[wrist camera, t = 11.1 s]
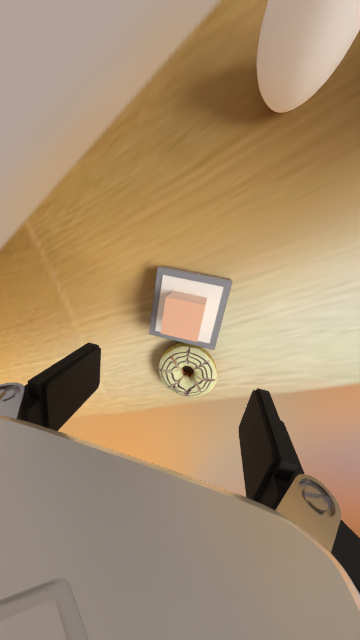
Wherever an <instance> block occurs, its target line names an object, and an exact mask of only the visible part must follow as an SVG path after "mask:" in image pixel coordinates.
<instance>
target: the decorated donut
mask: <svg viewBox="0 0 360 640" xmlns="http://www.w3.org/2000/svg"><path fill="white" fill-rule="evenodd" d="M184 366H190V367H191V368H192V369H193V370H194V372H193V373H187V372H185V371H184V370H183V369H182V368H183V367H184ZM158 368H159V375H160V377H161V381H162V383H163V384H164V385H166V386H167V388H168V389H170V390H172V391H174V392H176V393H178V394H180V395H183V396H188V397H197V396H201V395H204V394H206V393H208V392H209V391H211V390H212V388H213V387H214V385H215V383H216V381H217V370H216V366H215V363H214V361H213V359H212V357H211V356H210V355H209V354H208V352H207V351H205V350H204V349H203V348H201V347H200V346H196V345H192V344H188V343H179V344H176V345H174V346H172V347H171V348H169V349H168V350H167V351H166V352H165V353H164V354H163V356H162V357H161V360H160V362H159V367H158Z"/></svg>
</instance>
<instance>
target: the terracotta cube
mask: <svg viewBox="0 0 360 640" xmlns="http://www.w3.org/2000/svg"><path fill="white" fill-rule="evenodd" d="M206 302H207V298H206V297H201V296H197V295H192V294H187V293H182V292H177V291H174V292H172V293H171V294H169V295H168V296H166V299H165V306H164V313H163V319H162V326H161V334H165V335H169V336H174V337H178V338H182V339H186V340H190V341H194V342H197V341H198V337H199V333H200V328H201V324H202V320H203V315H204V311H205V306H206Z"/></svg>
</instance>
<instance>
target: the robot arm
mask: <svg viewBox="0 0 360 640" xmlns="http://www.w3.org/2000/svg"><path fill="white" fill-rule="evenodd" d="M100 359H101V349H100V348H99V346H98V345H96V344H92V343H87V344H85V345H84V346H82V347H81V348H79V349H78V350H76V351H74V352H73V353H71V354H70V355H68V356H66V357H65V358H63V359H62V360H60V361H59V362H57V363H55V364H54V365H52V366H51V367H49V368H48V369H46V370H44V371H43V372H41V373H40V374H38V375H36V376H35V377H33V378H32V379H30V380H29V381H28V384H27V385H25V386H23V385H22V384H20V383H5V384H1V385H0V640H360V538H359V537H358V536H357V535H356V534H355V533H354V532H353V531H352V530H351V529H350V528H349V527H348V526H347V525H346V524H345V523H344V522H343V521H342V520H341V511H340V508H339V505H338V503H337V501H336V499H335V498H334V496H333V495H332V494H331V492H330V491H329V490H328V489H327V488H326V487H325V486H324V485H323V484H322V483H321V482H319V481H318V480H317V479H315V478H313V477H311V476H309V475H305V474H304V472H303V469H302V467H301V464H300V462H299V459H298V457H297V454H296V452H295V449H294V447H293V445H292V442H291V439H290V437H289V435H288V432H287V430H286V427H285V425H284V423H283V422H282V421H281V420H280V418H279V416H278V413H277V411H276V408H275V406H274V403H273V400H272V398H271V395H270V393H269V391H266V390H262V389H257V390H253V392H252V394H251V397H250V399H249V402H248V404H247V407H246V410H245V412H244V415H243V417H242V420H241V423H240V426H239V438H240V447H241V456H242V464H243V472H244V480H245V489H246V497H244V496H241V495H239V494H236V493H233V492H230V491H228V490H225V489H222V488H220V487H217V486H215V485H212V484H209V483H206V482H203V481H201V480H197V479H195V478H192V477H189V476H186V475H183V474H181V473H178V472H175V471H172V470H169V469H166V468H163V467H161V466H158V465H155V464H152V463H149V462H146V461H143V460H141V459H137V458H134V457H132V456H129V455H126V454H123V453H120V452H117V451H114V450H111V449H108V448H106V447H103V446H100V445H97V444H93V443H91V442H88V441H85V440H82V439H79V438H76V437H73V436H70V435H67V434H64V433H61V432H58V430H59V429H60V428H61V427H62V426H63V424H64V423H65V422H66V421H67V420H68V419H69V418H70V417H71V416H72V415H73V414H74V413H75V412H76V411H77V410H78V409H79V408H80V407H81V405H82V404H83V403H84V402H85V401H86V400H87V399H88V398H89V397H90V396H91V395H92V394H93V393H94V392H95V391H96V390H97V388H98V386H99V383H100Z"/></svg>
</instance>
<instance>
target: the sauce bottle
mask: <svg viewBox="0 0 360 640" xmlns="http://www.w3.org/2000/svg"><path fill="white" fill-rule="evenodd" d="M359 30H360V0H268V4H267V7H266V11H265V15H264V18H263V22H262V27H261V31H260V37H259V43H258V53H257V79H258V85H259V89H260V93H261V95H262V97H263V100H264V102H265V103H266V104H267V106H268V107H269V108H270V109H271V110H273V111H275V112H279V113H283V112H288V111H290V110H293V109H295V108H296V107H298V106H300V105H301V104H303V103H304V102H305V101H307V100H308V99H309V98H310V97H312V96H313V95H314V94H315V93H316V92H317V91H318V90H319V89H320V87H321V86H322V85H323V84H324V83H325V82H326V81H327V80H328V78H329V77H330V76H331V74H332V73H333V72H334V70H335V69H336V68H337V66H338V65H339V64H340V62H341V61H342V59H343V58H344V56H345V54H346V53H347V51H348V50H349V48H350V46H351V44H352V43H353V41H354V39H355V37H356V36H357V34H358V32H359Z"/></svg>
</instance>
